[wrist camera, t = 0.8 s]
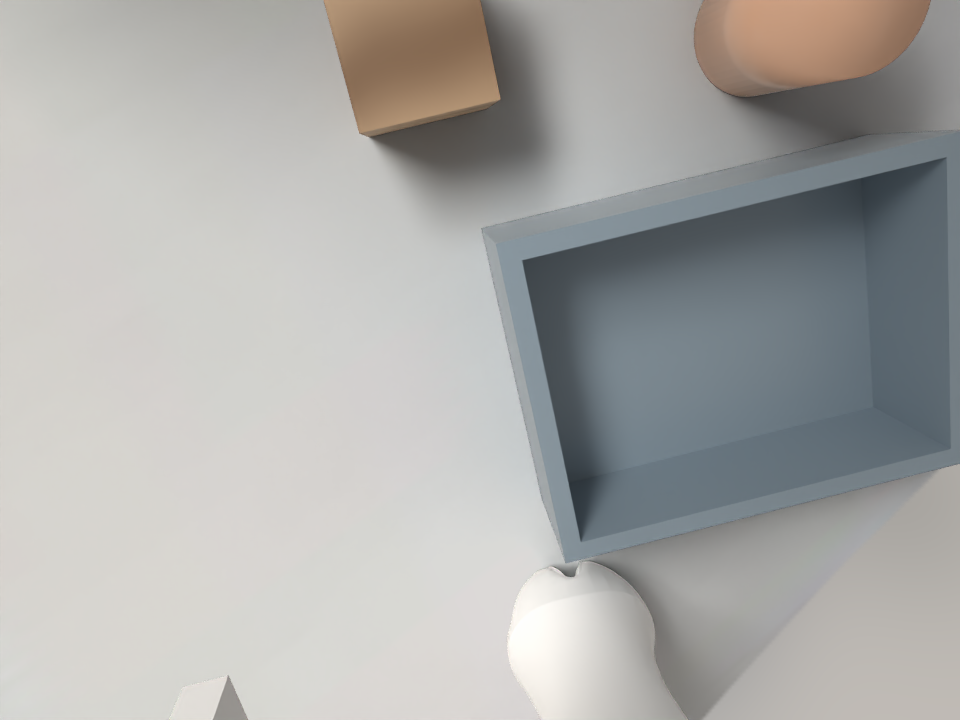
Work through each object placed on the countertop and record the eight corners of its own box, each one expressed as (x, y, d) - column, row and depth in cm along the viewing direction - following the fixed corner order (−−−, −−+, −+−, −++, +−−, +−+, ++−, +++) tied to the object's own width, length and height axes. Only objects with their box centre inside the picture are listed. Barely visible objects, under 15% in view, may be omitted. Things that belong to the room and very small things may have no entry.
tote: (481, 228, 29) (495, 243, 24) (869, 134, 30) (967, 129, 24) (542, 499, 33) (565, 563, 28) (882, 413, 34) (969, 461, 28)
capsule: (686, -20, 27) (774, -78, 21) (805, -48, 27) (931, -114, 21) (701, 108, 29) (788, 94, 22) (814, 81, 29) (934, 58, 22)
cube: (334, 6, 26) (316, -27, 22) (458, -24, 26) (467, -63, 22) (369, 136, 28) (359, 133, 23) (486, 109, 28) (500, 99, 23)
